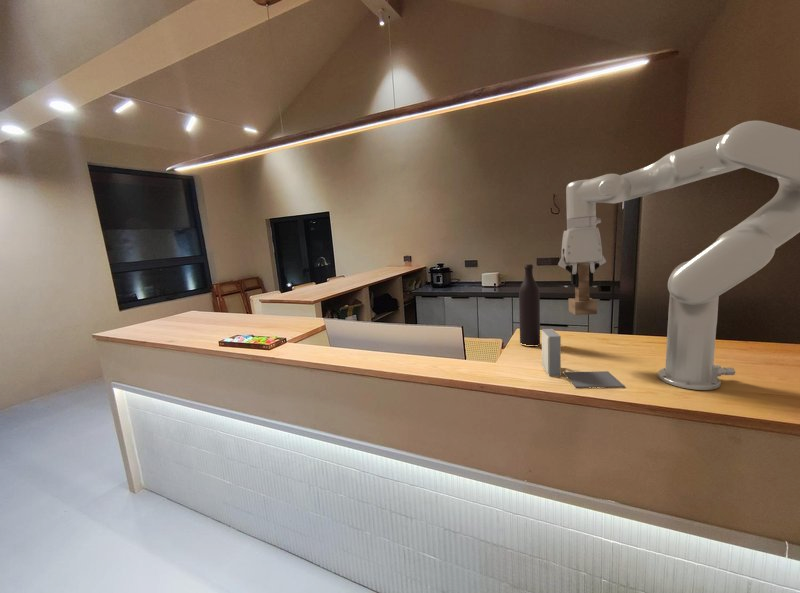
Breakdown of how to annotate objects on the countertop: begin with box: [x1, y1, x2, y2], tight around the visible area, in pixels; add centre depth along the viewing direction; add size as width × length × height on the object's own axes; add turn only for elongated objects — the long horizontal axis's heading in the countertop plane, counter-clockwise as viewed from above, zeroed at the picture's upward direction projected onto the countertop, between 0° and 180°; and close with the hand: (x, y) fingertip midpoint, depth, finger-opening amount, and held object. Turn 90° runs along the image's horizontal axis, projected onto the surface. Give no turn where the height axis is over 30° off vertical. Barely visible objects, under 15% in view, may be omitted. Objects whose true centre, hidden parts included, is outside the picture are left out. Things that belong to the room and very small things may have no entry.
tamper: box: [568, 263, 598, 316], centre depth 103 cm, size 6×6×16 cm
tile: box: [541, 328, 562, 377], centre depth 102 cm, size 3×8×12 cm, turn 171°
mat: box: [563, 370, 626, 389], centre depth 95 cm, size 12×10×1 cm
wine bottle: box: [518, 263, 541, 346], centre depth 126 cm, size 7×7×30 cm
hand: (582, 285), depth 103 cm, fingers closed on tamper, 3 cm apart
